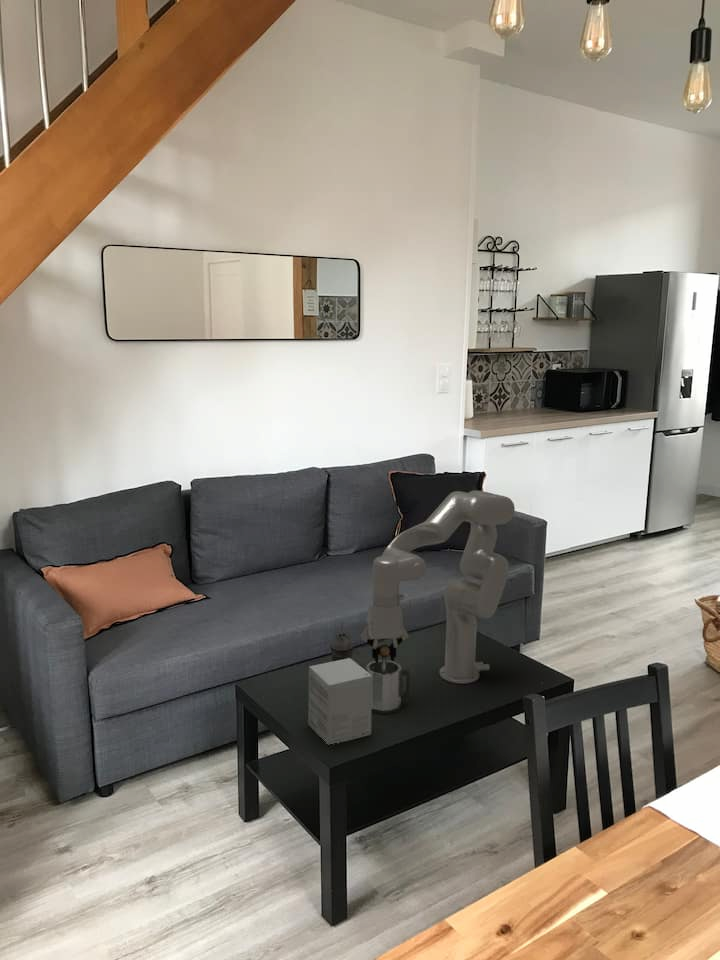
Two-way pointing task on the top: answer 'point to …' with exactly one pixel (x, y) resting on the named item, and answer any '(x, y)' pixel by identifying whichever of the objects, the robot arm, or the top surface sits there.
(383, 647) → the plunger
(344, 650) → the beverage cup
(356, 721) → the supplement box
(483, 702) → the top surface
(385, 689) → the carafe
